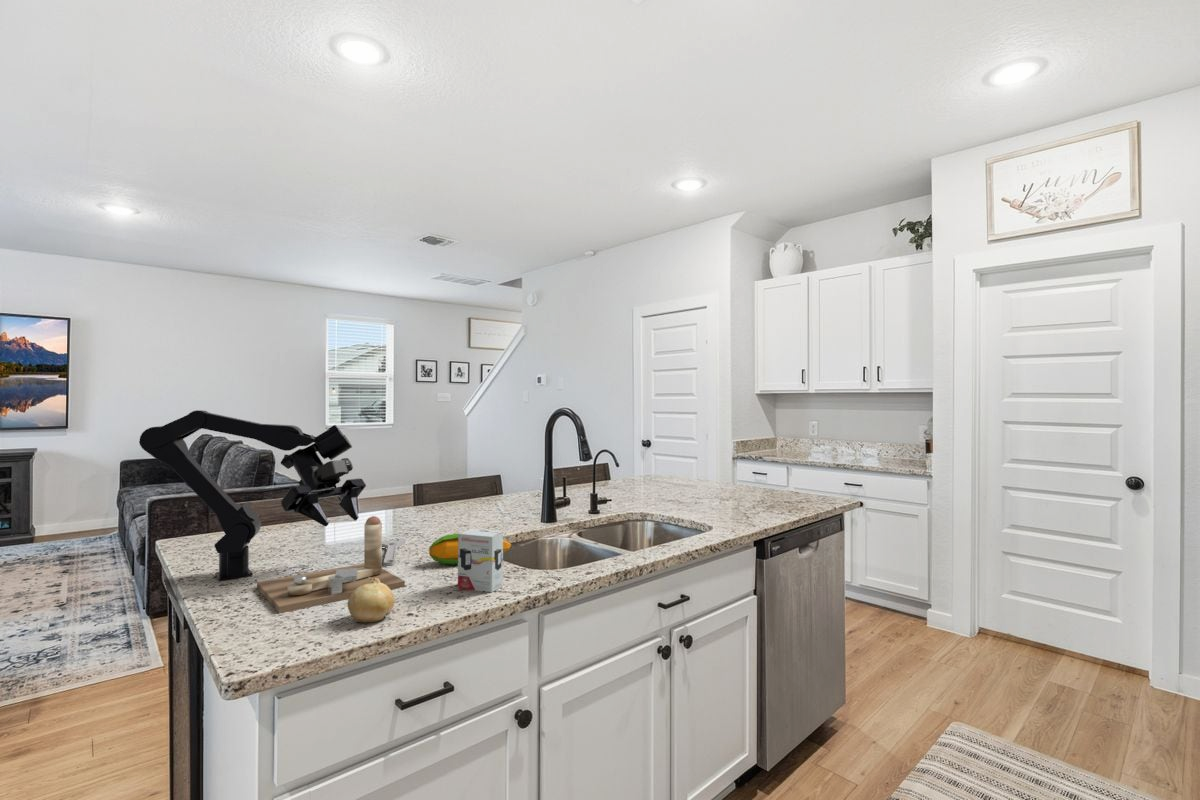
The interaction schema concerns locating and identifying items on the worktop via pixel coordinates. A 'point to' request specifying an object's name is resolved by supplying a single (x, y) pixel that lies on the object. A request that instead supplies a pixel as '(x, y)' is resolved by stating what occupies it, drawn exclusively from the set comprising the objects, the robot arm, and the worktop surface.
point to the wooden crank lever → (370, 568)
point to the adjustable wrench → (391, 550)
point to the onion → (371, 601)
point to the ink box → (480, 560)
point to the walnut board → (283, 602)
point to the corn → (450, 549)
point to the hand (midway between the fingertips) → (342, 522)
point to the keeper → (335, 579)
